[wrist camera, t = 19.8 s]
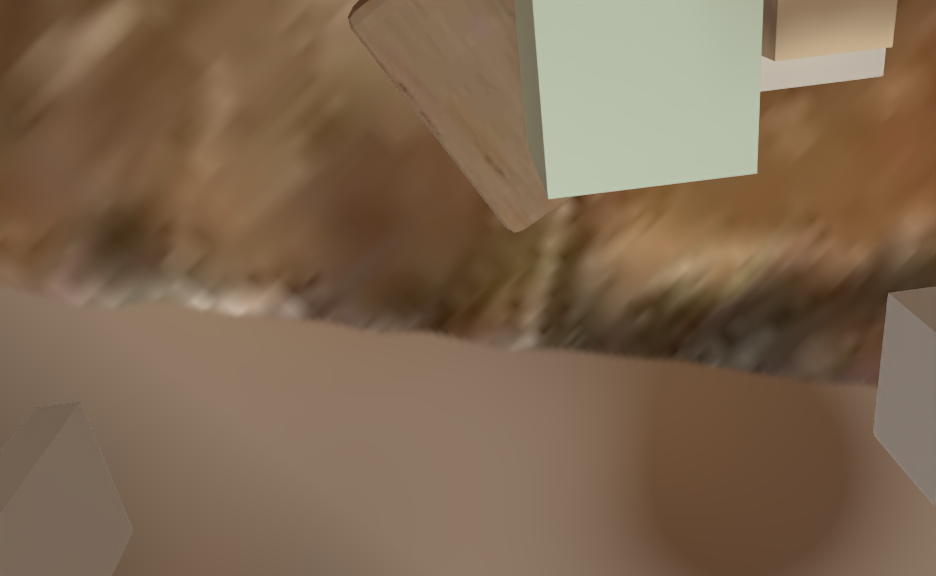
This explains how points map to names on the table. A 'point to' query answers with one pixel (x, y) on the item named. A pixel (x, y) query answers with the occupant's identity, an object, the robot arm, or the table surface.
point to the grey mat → (821, 69)
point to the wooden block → (463, 91)
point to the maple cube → (825, 27)
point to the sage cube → (639, 91)
